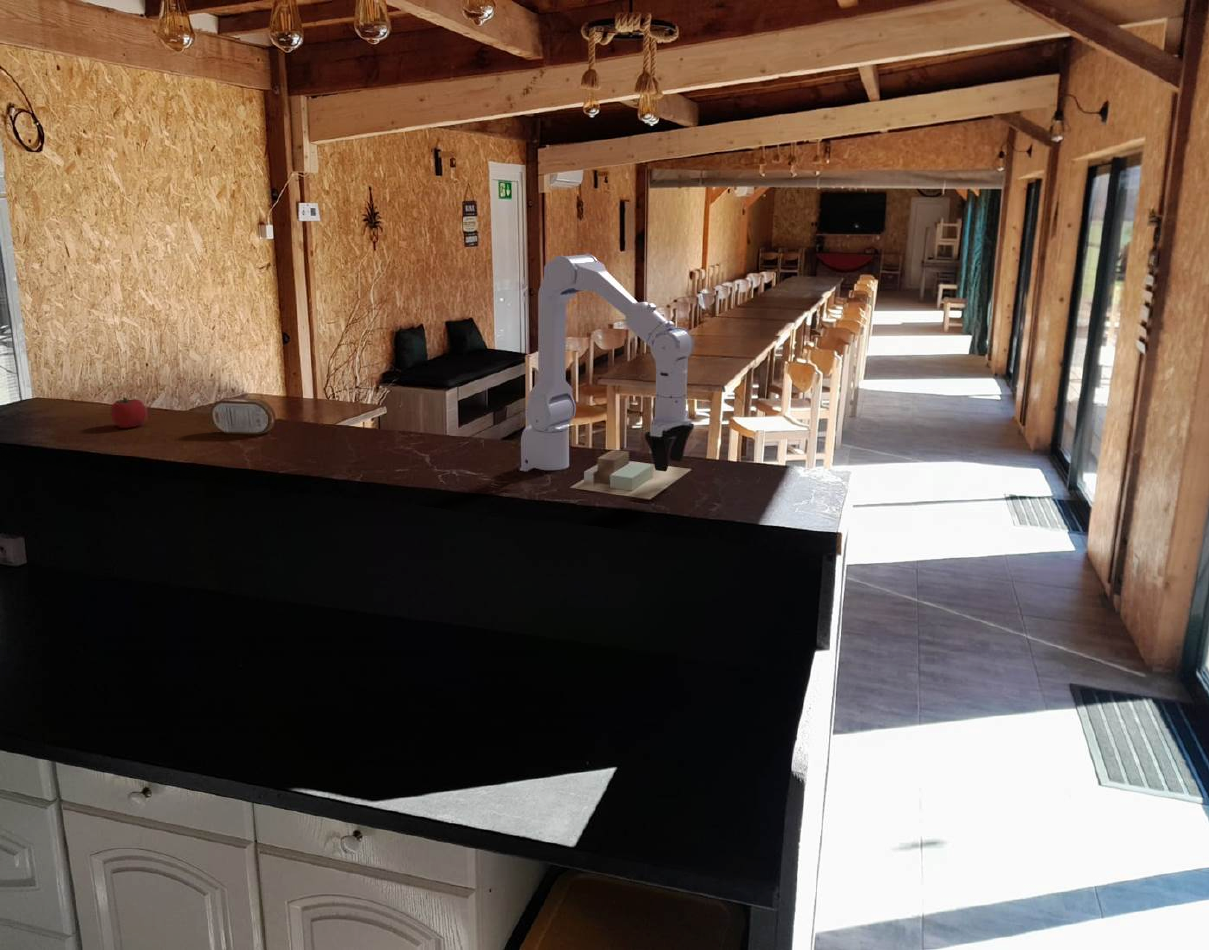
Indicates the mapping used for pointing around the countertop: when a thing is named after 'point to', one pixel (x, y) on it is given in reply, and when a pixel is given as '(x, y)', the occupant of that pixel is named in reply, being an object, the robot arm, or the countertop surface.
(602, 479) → the block
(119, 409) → the tomato
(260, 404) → the tin
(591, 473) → the block
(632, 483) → the block
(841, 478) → the countertop surface
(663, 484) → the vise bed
